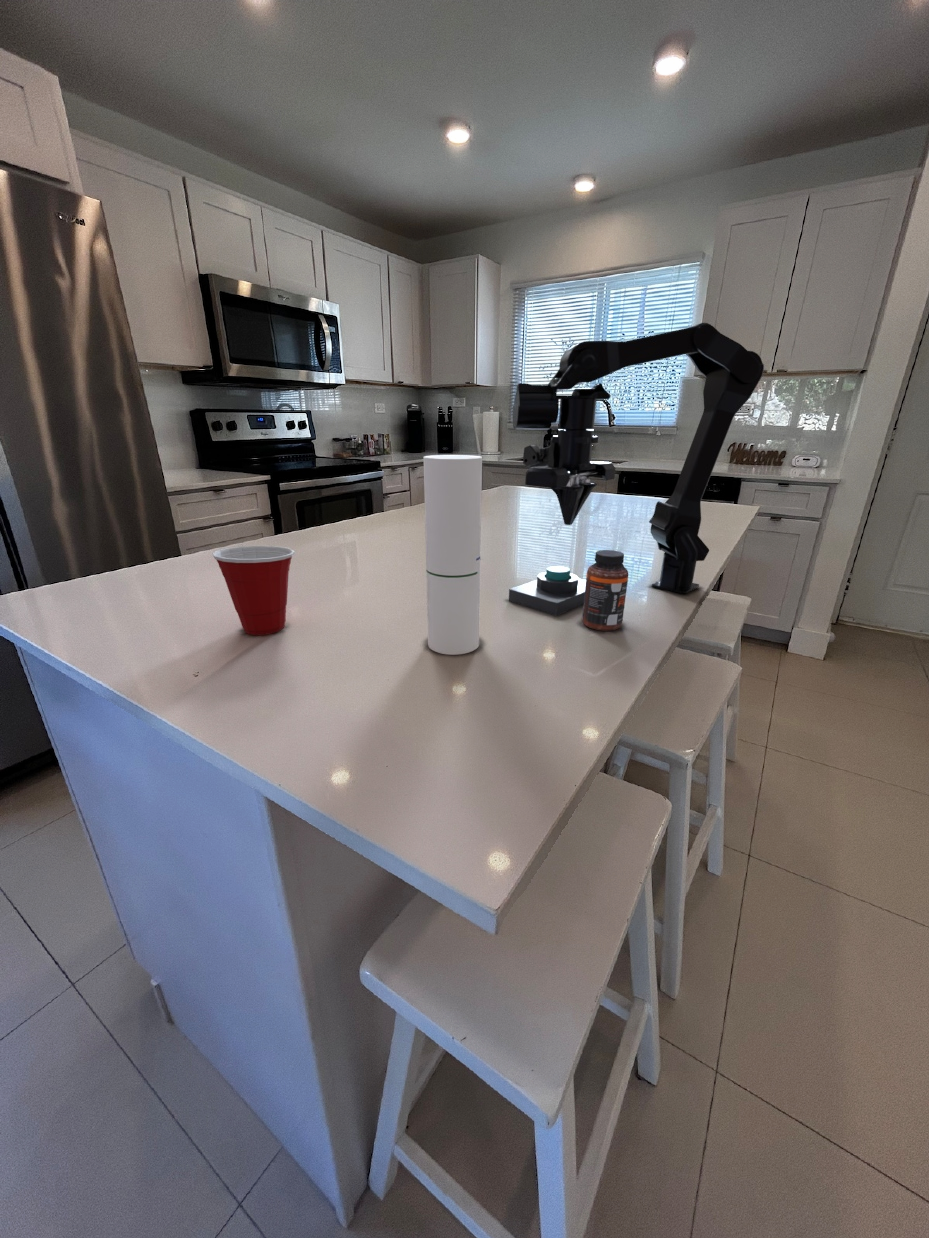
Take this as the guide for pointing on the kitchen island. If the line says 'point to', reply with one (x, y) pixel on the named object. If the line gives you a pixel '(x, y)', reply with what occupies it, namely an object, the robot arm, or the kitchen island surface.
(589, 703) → the kitchen island surface
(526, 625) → the kitchen island surface
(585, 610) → the supplement bottle
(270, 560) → the plastic cup
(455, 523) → the cylindrical container
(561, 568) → the lid button
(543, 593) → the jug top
